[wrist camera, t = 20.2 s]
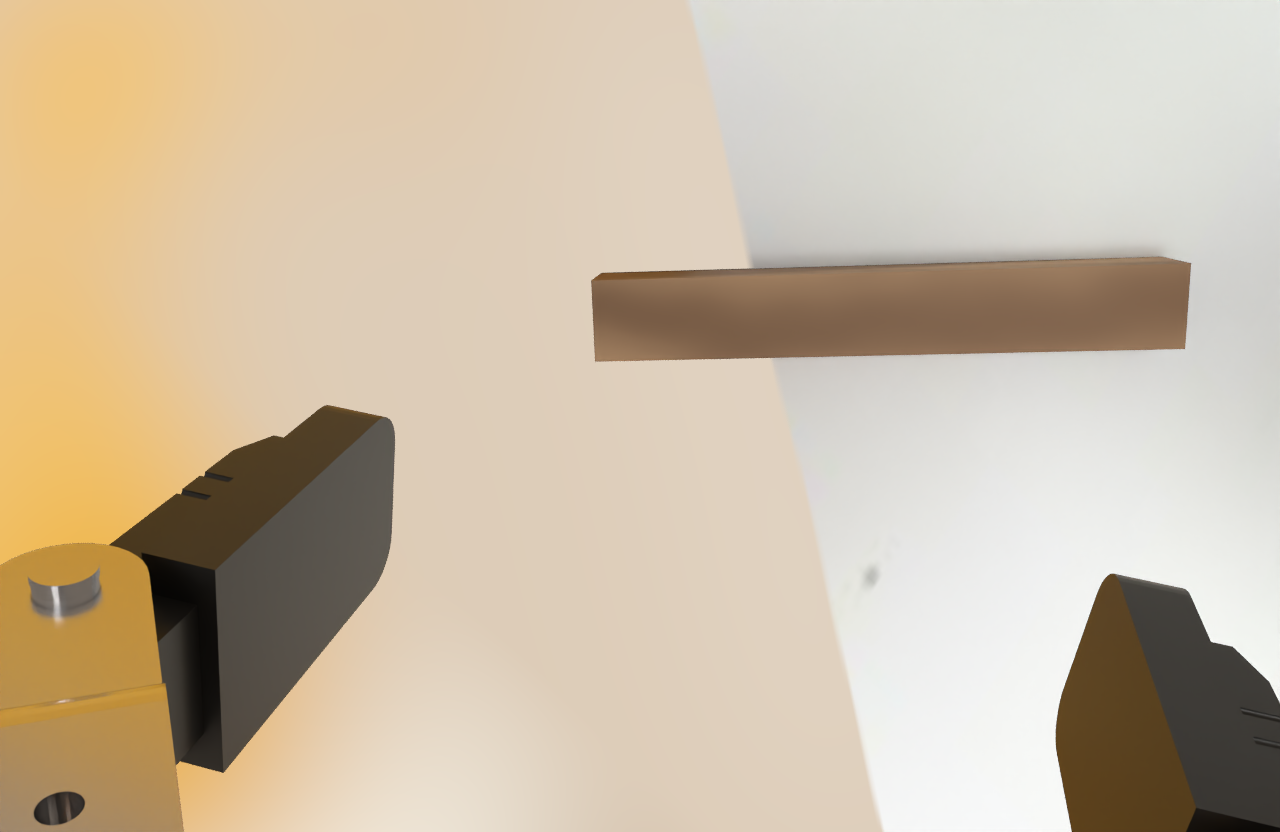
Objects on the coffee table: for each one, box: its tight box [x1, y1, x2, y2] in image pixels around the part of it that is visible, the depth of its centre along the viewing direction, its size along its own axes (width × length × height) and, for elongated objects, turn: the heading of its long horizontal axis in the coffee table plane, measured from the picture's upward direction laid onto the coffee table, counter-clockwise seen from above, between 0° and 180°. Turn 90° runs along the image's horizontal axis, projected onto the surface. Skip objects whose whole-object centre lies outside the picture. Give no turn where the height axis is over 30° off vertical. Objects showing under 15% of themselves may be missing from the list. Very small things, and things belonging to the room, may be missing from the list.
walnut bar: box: [591, 257, 1191, 361], centre depth 41 cm, size 3×21×3 cm, turn 92°
